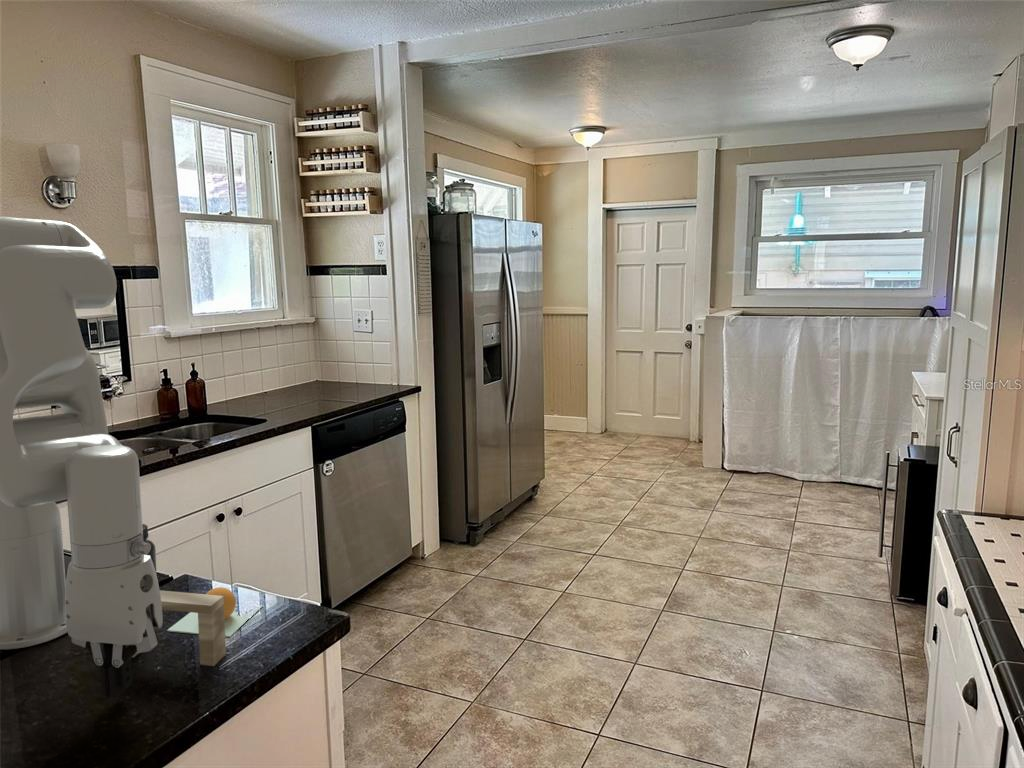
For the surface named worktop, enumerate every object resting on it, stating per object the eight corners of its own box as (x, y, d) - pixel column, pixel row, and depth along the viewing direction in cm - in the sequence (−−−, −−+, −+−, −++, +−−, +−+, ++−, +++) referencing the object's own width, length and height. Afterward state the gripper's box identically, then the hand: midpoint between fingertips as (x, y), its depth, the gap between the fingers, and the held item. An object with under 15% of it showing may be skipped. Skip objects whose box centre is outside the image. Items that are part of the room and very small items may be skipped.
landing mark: (167, 631, 104) (167, 630, 104) (205, 601, 114) (205, 600, 114) (230, 637, 102) (229, 636, 102) (263, 606, 112) (263, 605, 112)
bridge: (213, 666, 95) (211, 605, 94) (120, 656, 97) (116, 597, 95) (225, 654, 98) (223, 595, 96) (134, 645, 100) (131, 587, 98)
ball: (215, 583, 110) (212, 615, 110) (194, 589, 106) (192, 623, 105) (243, 585, 109) (241, 618, 109) (224, 592, 105) (222, 626, 104)
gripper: (184, 542, 86) (191, 680, 89) (75, 533, 88) (85, 668, 91) (144, 566, 79) (153, 715, 82) (26, 556, 81) (39, 702, 84)
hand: (117, 690), depth 86 cm, fingers closed
